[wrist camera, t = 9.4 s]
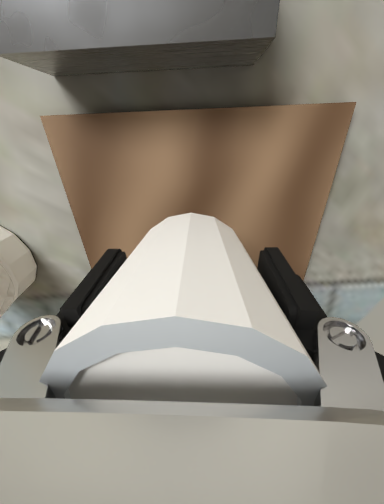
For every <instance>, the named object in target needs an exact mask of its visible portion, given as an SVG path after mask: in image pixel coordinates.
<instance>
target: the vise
mask: <svg viewBox="0 0 384 504" xmlns="http://www.w3.org/2000/svg"><path fill="white" fill-rule="evenodd" d="M279 3H280V0H0V57H3V58H6V59H8V60H11V61H14V62H17V63H19V64H22V65H25V66H28V67H30V68H33V69H36V70H39V71H41V72H44V73H47V74H50V75H52V76H61V75H79V74H98V73H116V72H134V71H152V70H171V69H189V68H207V67H226V66H244V65H254V63H255V62H256V61H257V60H258V58H259V57H260V56H261V55H262V53H263V52H264V51H265V49H266V48H267V47H268V46H269V44H270V43H271V42H272V41H273V39H274V38H275V35H276V27H277V19H278V11H279Z"/></svg>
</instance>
